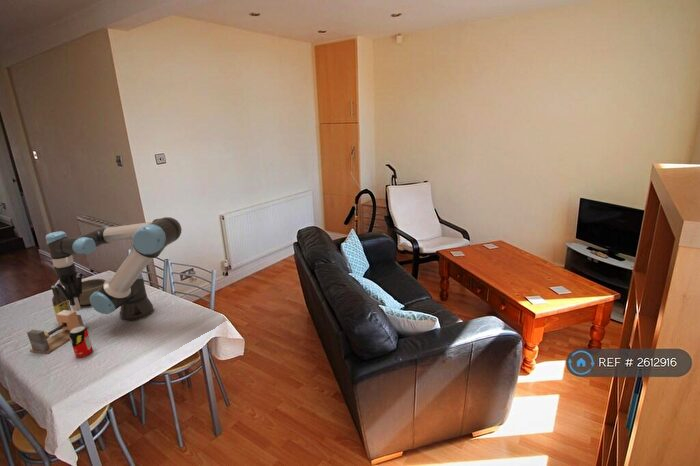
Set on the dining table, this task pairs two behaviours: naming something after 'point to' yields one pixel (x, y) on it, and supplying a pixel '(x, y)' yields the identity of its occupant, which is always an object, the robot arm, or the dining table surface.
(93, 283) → the bowl
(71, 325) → the sleeve
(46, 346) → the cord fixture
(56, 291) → the sauce bottle
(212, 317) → the dining table surface
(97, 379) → the dining table surface
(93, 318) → the dining table surface
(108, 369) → the dining table surface
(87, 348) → the beverage can
